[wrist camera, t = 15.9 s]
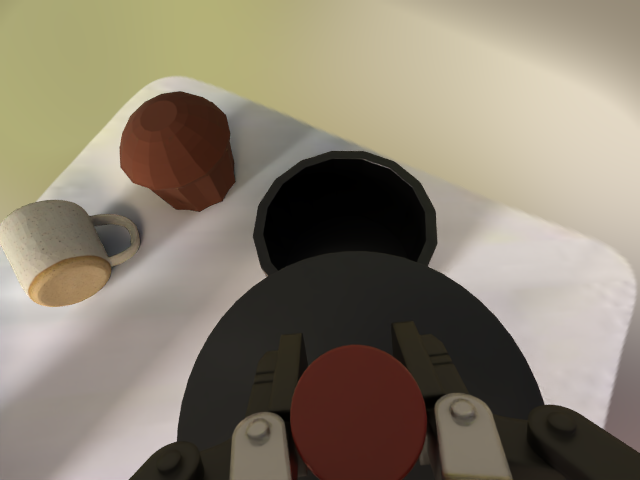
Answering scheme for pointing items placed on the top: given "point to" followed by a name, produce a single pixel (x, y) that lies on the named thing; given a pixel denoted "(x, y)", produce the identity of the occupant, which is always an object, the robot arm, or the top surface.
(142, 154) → the muffin
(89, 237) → the ceramic mug
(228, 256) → the top surface
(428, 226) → the pot
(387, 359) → the lid
